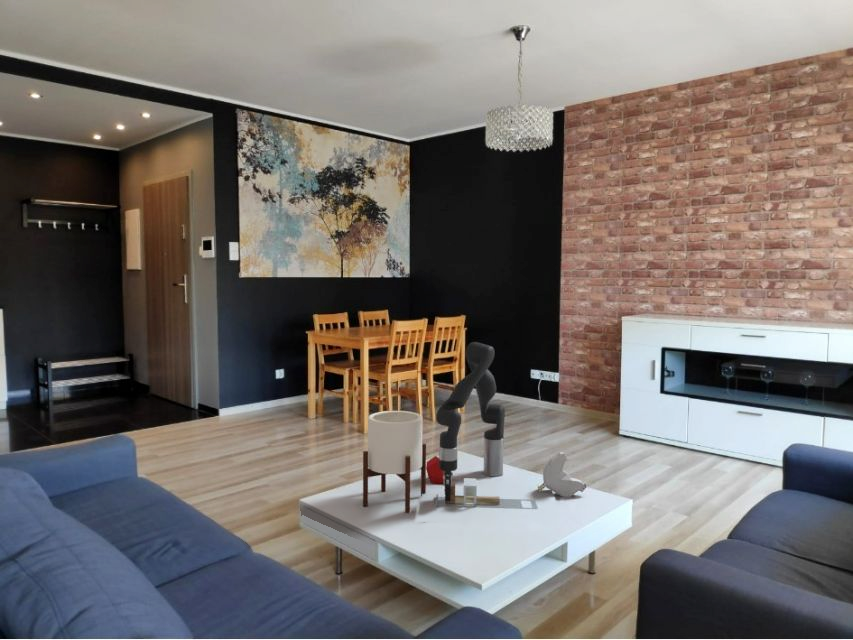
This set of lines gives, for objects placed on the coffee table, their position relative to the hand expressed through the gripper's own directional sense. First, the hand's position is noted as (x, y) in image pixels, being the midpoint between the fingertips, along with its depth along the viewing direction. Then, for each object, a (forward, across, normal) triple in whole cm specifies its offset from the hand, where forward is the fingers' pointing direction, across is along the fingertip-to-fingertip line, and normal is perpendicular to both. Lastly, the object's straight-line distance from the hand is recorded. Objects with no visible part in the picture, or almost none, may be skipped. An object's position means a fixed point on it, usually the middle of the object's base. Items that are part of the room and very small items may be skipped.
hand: (447, 498), depth 245 cm
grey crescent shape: (+3, +16, -49) cm, 52 cm away
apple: (+3, +29, +5) cm, 30 cm away
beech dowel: (+1, 0, -12) cm, 12 cm away
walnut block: (+1, 0, -1) cm, 1 cm away
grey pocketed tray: (+3, 0, -15) cm, 15 cm away
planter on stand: (+3, +3, +22) cm, 22 cm away
